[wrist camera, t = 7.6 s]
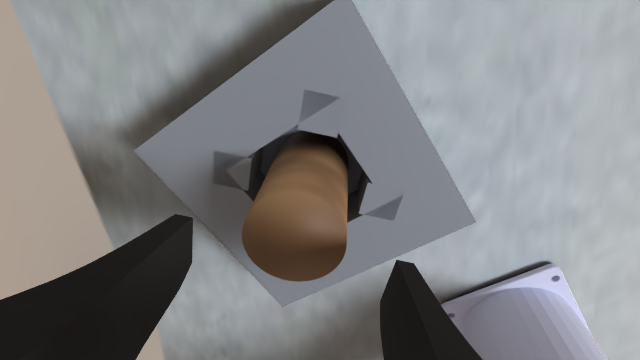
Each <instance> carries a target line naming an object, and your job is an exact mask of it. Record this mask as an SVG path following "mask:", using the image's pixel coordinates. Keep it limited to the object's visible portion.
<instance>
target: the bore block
mask: <svg viewBox="0 0 640 360" xmlns="http://www.w3.org/2000/svg"><path fill="white" fill-rule="evenodd" d="M299 131H308V132H313V133H317V134H322V135H327V136H331V137H334V138H336V139H337V140H338V141H339V142H340V143H341V145H342V146H343V147H344V149H345V151H346V154H347V157H348V203H347V248H346V252H345V255H344V258H343V259H342V261H341V263H340V264H339V265H338V266H337V268H335V269H334V270H333V271H332V272H330V273H329V274H327V275H326V276H324V277H321V278H319V279H315V280H311V281H303V282H296V281H287V280H283V279H279V278H277V277H274V276H272V275H270V274H268V273H266V272H264V271H263V270H261V269H260V268H259V267H258V266H256V265H255V264H254V263H253V261H252V260H251V259H250V258H249V256H248V255H247V253H246V251H245V249H244V246H243V242H242V228H243V224H244V222H245V219H246V217H247V215H248V213H249V211H250V209H251V207H252V205H253V203H254V200H255V198H256V196H257V194H258V192H259V190H260V188H261V186H262V184H263V182H264V180H265V177H266V175H267V173H268V171H269V169H270V167H271V165H272V163H273V161H274V159H275V157H276V154H277V152H278V150H279V148H280V146H281V145H282V143H283V142H284V141H285V140H286V139H287V138H288V137H289V136H291V135H292V134H294V133H296V132H299ZM134 152H135V153H136V154H137V155H138V156H139V157H140V158H141V159H142V160H143V161H144V162H145V164H146V165H147V166H148V167H149V168H150V169H151V170H152V171H153V172H154V173H155V174H156V175H157V176H158V177H159V178H160V179H161V180H162V181H163V182H164V183H165V184H166V185H167V187H168V188H169V189H170V190H171V191H172V192H173V193H174V194H175V195H176V196H177V197H178V198H179V199H180V200H181V201H182V202H183V203H184V204H185V205H186V206H187V207H188V208H189V210H190V211H191V212H192V213H193V214H194V215H195V216H196V217H197V218H198V219H199V220H200V221H201V222H202V223H203V224H204V225H205V226H206V227H207V228H208V229H209V230H210V231H211V232H212V234H213V235H214V236H215V237H216V238H217V239H218V240H219V241H220V242H221V243H222V244H223V245H224V246H225V247H226V248H227V249H228V250H229V251H230V252H231V253H232V254H233V255H234V257H235V258H236V259H237V260H238V261H239V262H240V263H241V264H242V265H243V266H244V267H245V268H246V269H247V270H248V271H249V272H250V273H251V274H252V275H253V276H254V277H255V278H256V280H257V281H258V282H259V283H260V284H261V285H262V286H263V287H264V288H265V289H266V290H267V291H268V292H269V293H270V294H271V295H272V296H273V297H274V298H275V299H276V300H277V301H278V303H279V304H280V305H281V306H282V307H283V306H285V305H287V304H290V303H292V302H294V301H297V300H299V299H301V298H304V297H306V296H308V295H310V294H313V293H315V292H317V291H320V290H322V289H324V288H326V287H329V286H331V285H333V284H336V283H338V282H340V281H342V280H345V279H347V278H349V277H352V276H354V275H356V274H358V273H361V272H363V271H365V270H368V269H370V268H372V267H375V266H377V265H379V264H381V263H384V262H386V261H388V260H391V259H393V258H395V257H397V256H400V255H402V254H404V253H407V252H409V251H411V250H413V249H416V248H418V247H420V246H423V245H425V244H427V243H429V242H432V241H434V240H436V239H439V238H441V237H443V236H446V235H448V234H450V233H452V232H455V231H457V230H459V229H462V228H464V227H466V226H468V225H471V224H473V223H475V222H476V221H475V219H474V218H473V216H472V214H471V212H470V210H469V209H468V207H467V205H466V203H465V201H464V200H463V198H462V196H461V194H460V192H459V191H458V189H457V187H456V185H455V183H454V182H453V180H452V178H451V176H450V174H449V173H448V171H447V169H446V167H445V166H444V164H443V162H442V160H441V158H440V157H439V155H438V153H437V151H436V150H435V148H434V146H433V144H432V142H431V141H430V139H429V137H428V135H427V134H426V132H425V130H424V128H423V126H422V125H421V123H420V121H419V119H418V118H417V116H416V114H415V112H414V110H413V109H412V107H411V105H410V103H409V102H408V100H407V98H406V96H405V94H404V93H403V91H402V89H401V87H400V86H399V84H398V82H397V80H396V78H395V77H394V75H393V73H392V71H391V69H390V68H389V66H388V64H387V62H386V61H385V59H384V57H383V55H382V53H381V52H380V50H379V48H378V46H377V45H376V43H375V41H374V39H373V37H372V36H371V34H370V32H369V30H368V29H367V27H366V25H365V23H364V21H363V20H362V18H361V16H360V14H359V13H358V11H357V9H356V7H355V5H354V4H353V2H352V0H334V1H332V2H331V3H330V4H328V5H327V6H326V7H324V8H323V9H322V10H320V11H319V12H318V13H316V14H315V15H314V16H312V17H311V18H310V19H308V20H307V21H306V22H304V23H303V24H302V25H300V26H299V27H298V28H296V29H295V30H294V31H292V32H291V33H290V34H288V35H287V36H286V37H284V38H283V39H282V40H280V41H279V42H278V43H276V44H275V45H274V46H272V47H271V48H270V49H268V50H267V51H266V52H264V53H263V54H262V55H260V56H259V57H258V58H256V59H255V60H254V61H252V62H251V63H250V64H248V65H247V66H246V67H244V68H243V69H242V70H240V71H239V72H238V73H236V74H235V75H234V76H232V77H231V78H230V79H228V80H227V81H226V82H224V83H223V84H222V85H220V86H219V87H218V88H216V89H215V90H214V91H212V92H211V93H210V94H208V95H207V96H206V97H204V98H203V99H202V100H200V101H199V102H198V103H196V104H195V105H194V106H192V107H191V108H190V109H188V110H187V111H186V112H185V113H183V114H182V115H181V116H179V117H178V118H177V119H175V120H174V121H173V122H171V123H170V124H169V125H167V126H166V127H165V128H163V129H162V130H161V131H159V132H158V133H157V134H155V135H154V136H153V137H151V138H150V139H149V140H147V141H146V142H145V143H143V144H142V145H141V146H139V147H138V148H137V149H135V150H134Z"/></svg>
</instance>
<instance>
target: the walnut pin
mask: <svg viewBox="0 0 640 360" xmlns="http://www.w3.org/2000/svg"><path fill="white" fill-rule="evenodd" d="M347 203H348V157H347V154H346V151H345V149H344V147H343V146H342V145H341V143H340V142H339V141H338V140H337V139H336V138H334V137H331V136H327V135H322V134H317V133H313V132H308V131H299V132H296V133H294V134H292V135H291V136H289V137H288V138H287V139H286V140H285V141H284V142H283V143H282V145H281V146H280V148H279V150H278V152H277V154H276V157H275V159H274V161H273V163H272V165H271V167H270V169H269V171H268V173H267V175H266V177H265V180H264V182H263V184H262V186H261V188H260V190H259V192H258V194H257V196H256V198H255V200H254V203H253V205H252V207H251V209H250V211H249V213H248V215H247V217H246V219H245V222H244V224H243V228H242V242H243V246H244V249H245V251H246V253H247V255H248V256H249V258H250V259H251V260H252V261H253V263H254V264H255V265H256V266H258V267H259V268H260V269H261V270H263V271H264V272H266V273H268V274H270V275H272V276H274V277H277V278H279V279H283V280H287V281H296V282H303V281H311V280H315V279H319V278H321V277H324V276H326V275H327V274H329V273H330V272H332V271H333V270H334V269H335V268H337V266H338V265H339V264H340V263H341V261H342V259H343V258H344V255H345V252H346V248H347Z"/></svg>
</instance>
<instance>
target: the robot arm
mask: <svg viewBox="0 0 640 360" xmlns="http://www.w3.org/2000/svg"><path fill="white" fill-rule="evenodd" d="M192 236H193V218H192V217H187V216H182V215H177V214H175V215H173V216H172V217H170V218H168V219H167V220H165V221H163V222H162V223H160V224H158V225H157V226H155V227H153V228H152V229H150V230H148V231H147V232H145V233H144V234H142V235H140V236H139V237H137V238H135V239H133V240H132V241H130V242H128V243H127V244H125V245H123V246H121V247H120V248H118V249H116V250H114V251H112V252H110V253H108V254H107V255H105V256H103V257H101V258H99V259H97V260H95V261H93V262H91V263H89V264H87V265H85V266H83V267H81V268H79V269H77V270H75V271H73V272H70V273H68V274H66V275H63V276H61V277H59V278H57V279H54V280H52V281H49V282H47V283H44V284H42V285H39V286H36V287H34V288H31V289H29V290H26V291H24V292H21V293H18V294H15V295H13V296H10V297H7V298H4V299H1V300H0V360H136V358H137V356H138V354H139V353H140V351H141V349H142V348H143V346H144V344H145V343H146V341H147V340H148V338H149V336H150V335H151V333H152V332H153V330H154V329H155V327H156V325H157V324H158V322H159V321H160V319H161V318H162V316H163V314H164V313H165V311H166V310H167V308H168V307H169V305H170V303H171V302H172V300H173V299H174V297H175V295H176V294H177V292H178V291H179V289H180V287H181V285H182V283H183V281H184V279H185V277H186V274H187V272H188V270H189V268H190V266H191V263H192ZM553 276H554V277H553ZM449 313H451V314H449ZM380 330H381V339H382V347H383V355H384V360H609V359H608V358H607V356H606V355H605V354H604V352H603V351H602V349H601V348H600V347H599V345H598V344H597V342H596V341H595V340H594V338H593V337H592V334H591V332H590V330H589V328H588V326H587V324H586V322H585V320H584V318H583V315H582V313H581V311H580V309H579V307H578V305H577V303H576V301H575V298H574V296H573V294H572V292H571V290H570V288H569V286H568V284H567V282H566V279H565V277H564V275H563V273H562V271H561V269H560V268H559V267H558V266H557V265H556V264H547V265H545V266H542V267H539V268H537V269H534V270H531V271H528V272H526V273H523V274H520V275H518V276H515V277H512V278H510V279H507V280H504V281H502V282H499V283H496V284H493V285H491V286H488V287H485V288H483V289H480V290H477V291H475V292H472V293H469V294H466V295H464V296H461V297H458V298H456V299H453V300H450V301H448V302H445V303H443V304H441V305H440V303H439V302H438V300H437V299H436V297H435V296H434V294H433V293H432V291H431V290H430V288H429V287H428V285H427V283H426V282H425V280H424V279H423V277H422V276H421V274H420V272H419V271H418V269H417V268H416V266H415V265H414V263H409V262H404V261H400V260H396V263H395V265H394V268H393V270H392V273H391V275H390V278H389V280H388V283H387V285H386V288H385V290H384V293H383V296H382V298H381V301H380Z"/></svg>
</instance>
